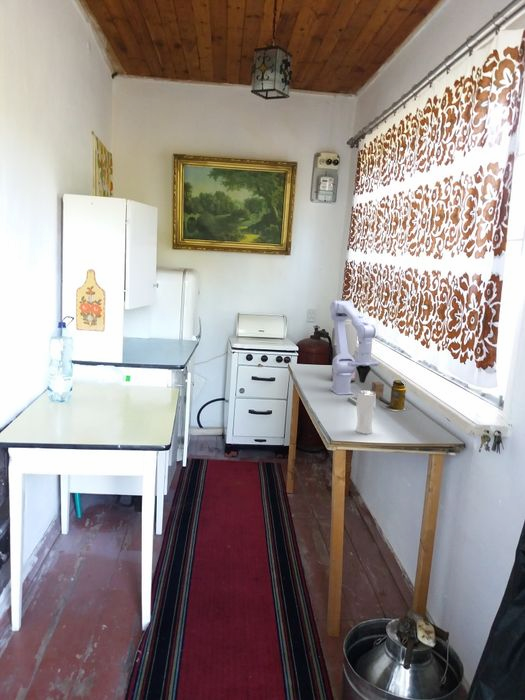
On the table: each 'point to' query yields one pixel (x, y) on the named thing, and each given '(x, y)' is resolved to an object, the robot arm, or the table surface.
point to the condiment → (397, 396)
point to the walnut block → (378, 389)
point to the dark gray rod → (384, 400)
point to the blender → (351, 342)
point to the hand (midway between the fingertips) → (362, 382)
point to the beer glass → (365, 411)
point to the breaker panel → (353, 400)
